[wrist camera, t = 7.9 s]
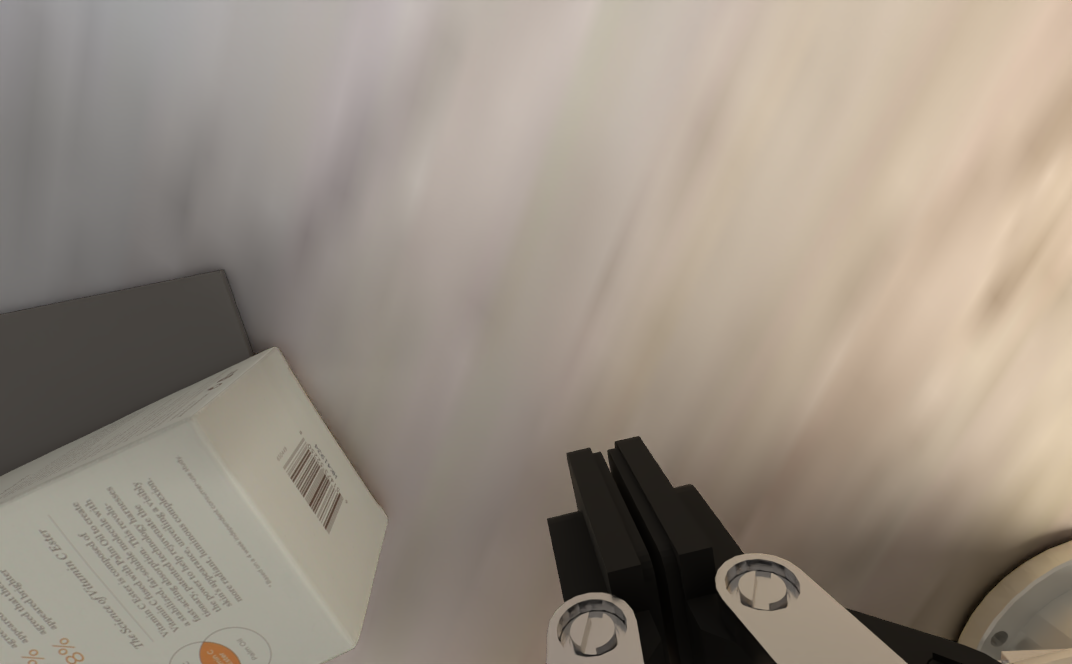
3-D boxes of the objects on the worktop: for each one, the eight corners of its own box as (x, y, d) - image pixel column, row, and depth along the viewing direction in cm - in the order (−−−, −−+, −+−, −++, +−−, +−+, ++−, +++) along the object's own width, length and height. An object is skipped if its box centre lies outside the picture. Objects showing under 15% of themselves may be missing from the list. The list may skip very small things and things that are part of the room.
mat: (327, 563, 21) (325, 569, 21) (-39, 650, 20) (-46, 656, 20) (223, 269, 18) (219, 270, 18) (-215, 357, 17) (-227, 360, 17)
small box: (281, 340, 19) (-61, 499, 19) (191, 412, 13) (-317, 649, 12) (392, 519, 21) (89, 661, 21) (362, 654, 15) (-67, 855, 15)
